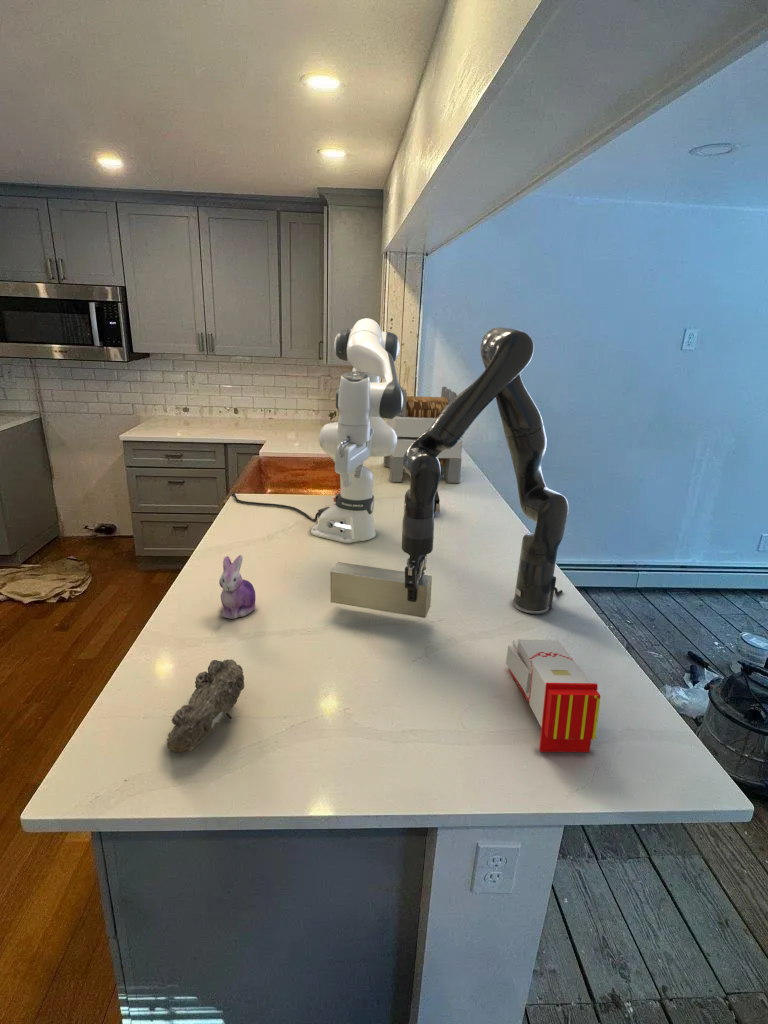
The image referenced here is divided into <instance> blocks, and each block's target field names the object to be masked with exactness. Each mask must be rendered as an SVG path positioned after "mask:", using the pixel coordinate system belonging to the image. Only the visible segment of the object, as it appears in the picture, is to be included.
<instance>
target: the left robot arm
mask: <svg viewBox="0 0 768 1024" xmlns="http://www.w3.org/2000/svg"><path fill="white" fill-rule="evenodd" d="M333 342H334V343H333V348H334V352H335V355H336V357H337V358H338V359H339V360H341V361H345V362H347V361H348V362H349V364H350V365H351V367H352V369H351V371H348V372H347V371H346V372H344V373H342V374H341V376H340V380H339V385H338V388H337V389H336V390H335V408H336V409H337V411H338V415H339V416H338V418H337V421H335V422H330V423H325V424H324V425H323V426H322V427H321V429H320V431H319V435H318V442H319V446H320V448H321V450H323V452H324V453H326V454H327V455H328V456H329V457H330V459H332V461H333V462H334V471H335V474H337V475H339V483H340V484H339V485H340V488H339V489H340V490H339V491H338V492H337V494H336V495H335V496H334V497H333V502H334V504H333V505H331V506H326V507H323V508H320V509H317V512H316V513H315V516H314V518H312V517H311V516H309V514H307V513H306V512H305V511H303V510H301V509H299V508H297V507H295V506H290V505H286V504H278V503H269V502H257V501H248V500H247V501H246V500H241V499H239V498H238V497H237V495H236V493H235V492H232V493H230V496H231V497H233V499H234V500H235V501H236V502H237V503H241V504H246V505H255V506H268V507H269V506H270V507H279V508H286V509H290V510H293V511H296V512H298V513H299V514H301V515H303V516H305V518H307V519H308V520H310V521H312V522H317V523H315V524H314V525H313V526H312V528H311V530H310V533H311V536H315V537H319V538H323V539H326V540H330V541H336V542H339V543H343V544H352V543H357V542H365V541H368V540H372V539H373V538H375V537H376V535H377V532H376V528H375V523H374V513H373V512H374V509H375V496H374V474H373V472H372V471H371V469H369V468H368V467H366V466H365V462H366V461H367V460H368V459H369V458H384V456H390V455H391V454H392V453H393V452H394V450H395V449H396V446H397V435H396V433H395V431H394V430H393V428H392V427H390V426H389V425H388V424H387V423H386V421H385V420H384V419H386V418H387V419H393V418H394V417H396V416H397V415H398V414H399V413H400V412H401V410H402V406H403V395H402V391H401V388H400V386H401V385H400V383H399V379H398V373H397V369H396V366H395V365H396V364H395V362H396V360H397V358H398V356H399V354H400V350H401V348H400V347H401V346H400V340H399V337H398V336H397V334H395V333H393V332H390V331H384V330H383V331H382V329H381V326H380V324H379V323H377V321H376V320H374V319H372V318H369V317H368V318H361V319H359V320H357V322H355V323H354V324H353V326H352V328H351V329H350V328H348V327H347V328H343V329H340V330H339V331H337V332H336V335H335V337H334V341H333ZM380 378H381V379H382V381H383V382H380ZM317 520H318V521H317Z"/></svg>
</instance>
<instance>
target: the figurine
mask: <svg viewBox="0 0 768 1024" xmlns="http://www.w3.org/2000/svg"><path fill="white" fill-rule="evenodd" d="M222 560H223V561H222V571H223V572H222V573H221V575H220V578H219V579H218V585H219V587H220V588H221V589H222V591H221V593H220V602H221V605H222V614H221V615H222V617H223V618H226V619H237V618H241V617H245V616H247V615H249V614H251V613H253V612H254V611H255V607H256V590H255V588H254V586H253V585H254V584H252V583H251V582H250V581H249V580H247V579H243V577H242V575H241V573H240V570H241V568H242V564H243V555H241V554H239V555H237V557H236V558H234V560H233V562H232V561H231V558H230V556H228V555H226V556H224V557H223V559H222Z"/></svg>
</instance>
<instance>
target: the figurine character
mask: <svg viewBox="0 0 768 1024" xmlns="http://www.w3.org/2000/svg"><path fill="white" fill-rule="evenodd" d="M440 501H441V499H440V496H439V491H438V490H437V492H436V495H435V498H434V518H435V517H436V514H440V511H441V510H440V509H441V504H440Z"/></svg>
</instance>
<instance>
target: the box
mask: <svg viewBox="0 0 768 1024" xmlns="http://www.w3.org/2000/svg"><path fill="white" fill-rule="evenodd" d="M329 574H330V575H329V582H330V588H329V589H330V590H329V591H330V603H333V604H339V605H344V606H351V607H355V608H362V609H368V610H374V611H380V612H386V613H393V614H398V615H403V616H404V615H405V616H411V617H416V618H421V619H426V618H427V615H428V613H429V611H430V608H431V601H432V584H433V583H432V582H433V575H430V574H424V575H423V574H421V578H420V579H419V580H418V587H417V600H416V602H411V601H408V600H407V594H408V589H407V588H405V571H404V570H403V571H401V570H397V569H389V568H382V567H377V566H376V567H375V566H368V565H361V564H354V563H350V562H349V563H348V562H342V561H341V562H340V561H338V562H337V563H336V564H335V565H334V566H333V568H332V569H331V570H330V572H329ZM416 575H418V574H417V573H416ZM410 583H413V582H411V581H410Z"/></svg>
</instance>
